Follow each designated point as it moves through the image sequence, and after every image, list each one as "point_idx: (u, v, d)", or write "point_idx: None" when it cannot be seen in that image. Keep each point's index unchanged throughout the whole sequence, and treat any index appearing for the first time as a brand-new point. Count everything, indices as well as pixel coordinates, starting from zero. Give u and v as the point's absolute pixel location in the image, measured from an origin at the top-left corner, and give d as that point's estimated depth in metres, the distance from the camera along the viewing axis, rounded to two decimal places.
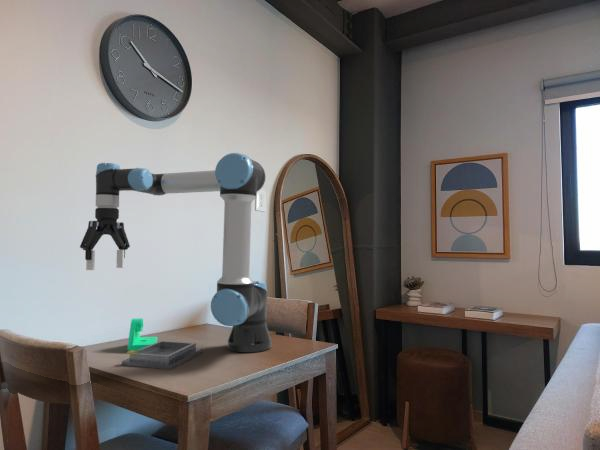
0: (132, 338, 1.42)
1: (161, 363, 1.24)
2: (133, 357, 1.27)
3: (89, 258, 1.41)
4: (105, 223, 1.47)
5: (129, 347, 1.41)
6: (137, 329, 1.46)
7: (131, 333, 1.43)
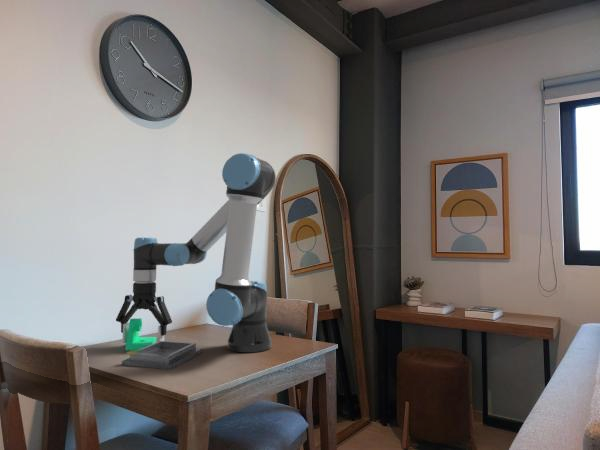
0: (130, 338, 1.42)
1: (161, 363, 1.24)
2: (133, 357, 1.27)
3: (122, 330, 1.49)
4: (137, 298, 1.47)
5: (127, 347, 1.41)
6: (135, 329, 1.46)
7: (130, 333, 1.43)
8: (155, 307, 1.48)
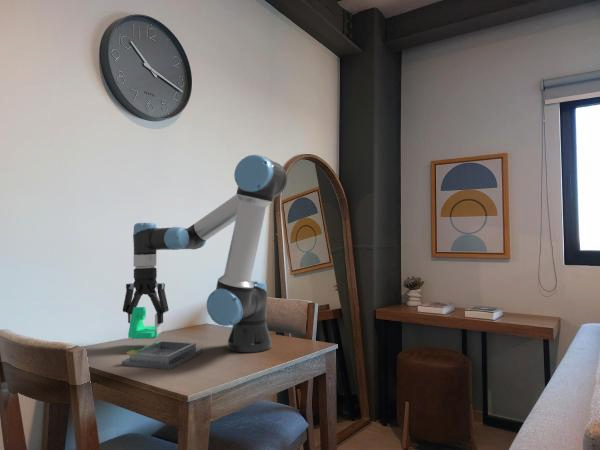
0: (133, 326, 1.42)
1: (161, 363, 1.24)
2: (133, 357, 1.27)
3: (129, 321, 1.48)
4: (138, 282, 1.48)
5: (130, 335, 1.41)
6: (139, 317, 1.46)
7: (133, 321, 1.43)
8: (155, 294, 1.48)
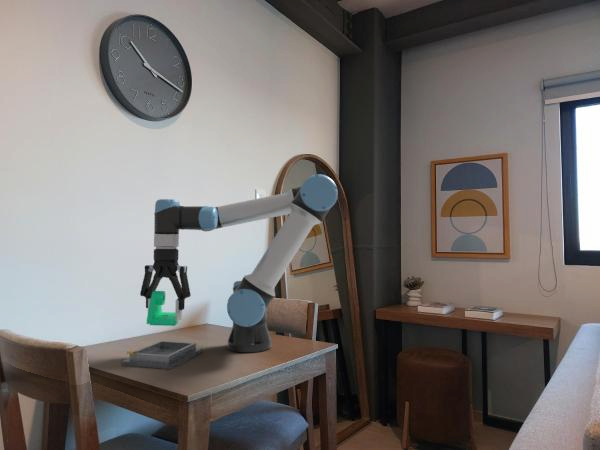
0: (152, 311, 1.30)
1: (161, 363, 1.24)
2: (133, 357, 1.27)
3: (146, 306, 1.36)
4: (158, 264, 1.35)
5: (148, 321, 1.29)
6: (158, 302, 1.33)
7: (151, 306, 1.31)
8: (176, 277, 1.35)
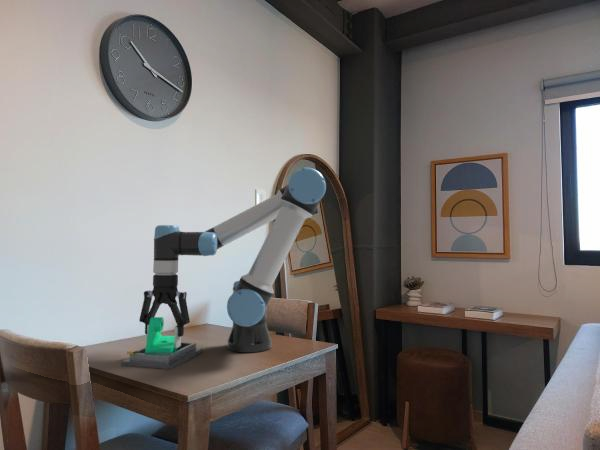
0: (150, 340, 1.29)
1: (161, 363, 1.24)
2: (133, 357, 1.27)
3: (146, 332, 1.35)
4: (157, 290, 1.35)
5: (147, 350, 1.28)
6: (156, 329, 1.32)
7: (150, 335, 1.30)
8: (175, 303, 1.35)
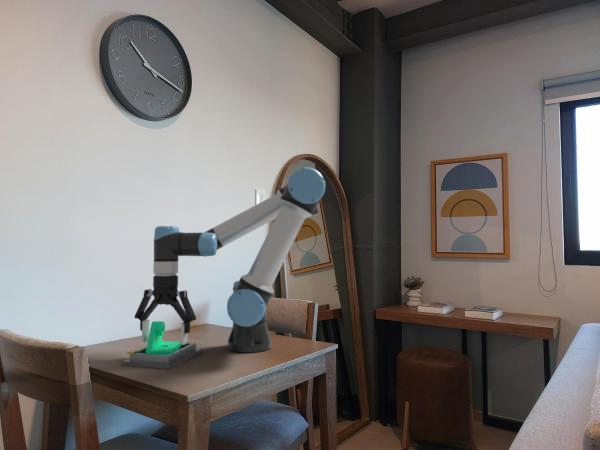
0: (151, 343, 1.30)
1: (161, 363, 1.24)
2: (133, 357, 1.27)
3: (141, 328, 1.36)
4: (158, 292, 1.35)
5: (147, 353, 1.29)
6: (157, 333, 1.33)
7: (151, 338, 1.31)
8: (177, 302, 1.35)
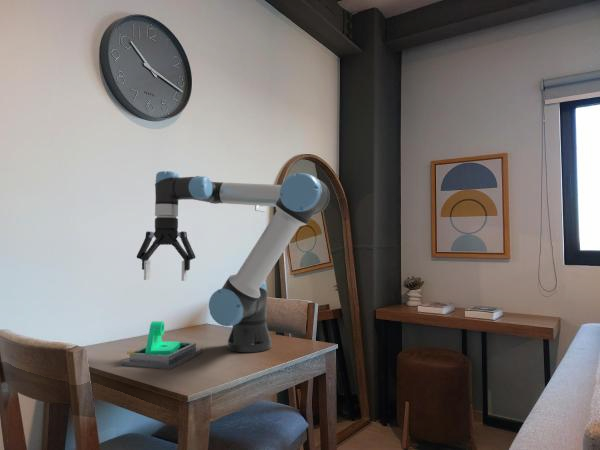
0: (150, 343, 1.30)
1: (161, 363, 1.24)
2: (133, 357, 1.27)
3: (143, 267, 1.45)
4: (159, 233, 1.44)
5: (147, 353, 1.29)
6: (157, 333, 1.33)
7: (150, 338, 1.31)
8: (178, 243, 1.45)
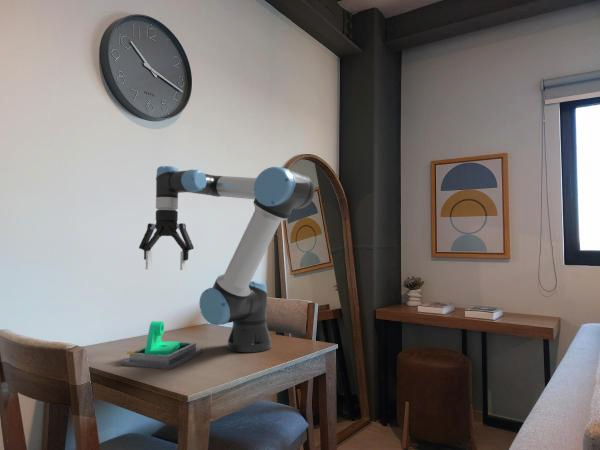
0: (150, 343, 1.30)
1: (161, 363, 1.24)
2: (133, 357, 1.27)
3: (145, 258, 1.53)
4: (160, 225, 1.52)
5: (146, 353, 1.29)
6: (156, 333, 1.33)
7: (150, 338, 1.31)
8: (177, 234, 1.52)
